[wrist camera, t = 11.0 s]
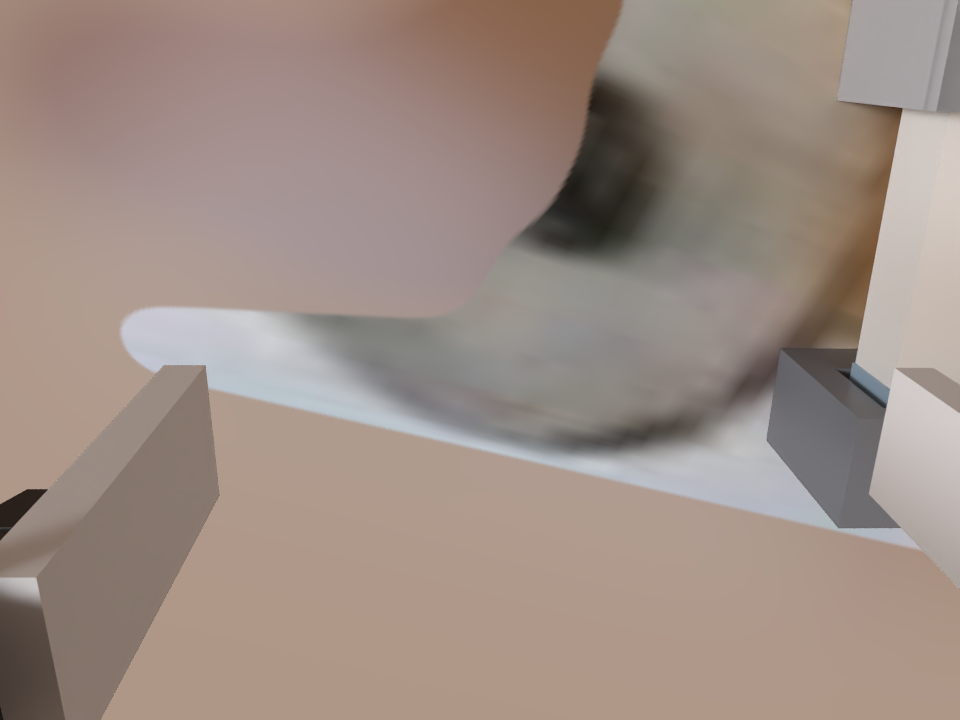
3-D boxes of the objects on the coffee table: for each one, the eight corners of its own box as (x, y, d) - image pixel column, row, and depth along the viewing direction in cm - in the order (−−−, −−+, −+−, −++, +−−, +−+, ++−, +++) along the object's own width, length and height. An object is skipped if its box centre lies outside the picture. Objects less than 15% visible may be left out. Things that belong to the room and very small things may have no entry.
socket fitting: (780, 348, 48) (859, 418, 39) (929, 349, 49) (1044, 419, 39) (766, 440, 50) (838, 528, 41) (909, 440, 51) (1013, 527, 41)
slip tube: (910, 49, 39) (962, 48, 35) (996, 51, 39) (1057, 50, 35) (842, 414, 46) (879, 447, 42) (916, 414, 46) (960, 448, 42)
